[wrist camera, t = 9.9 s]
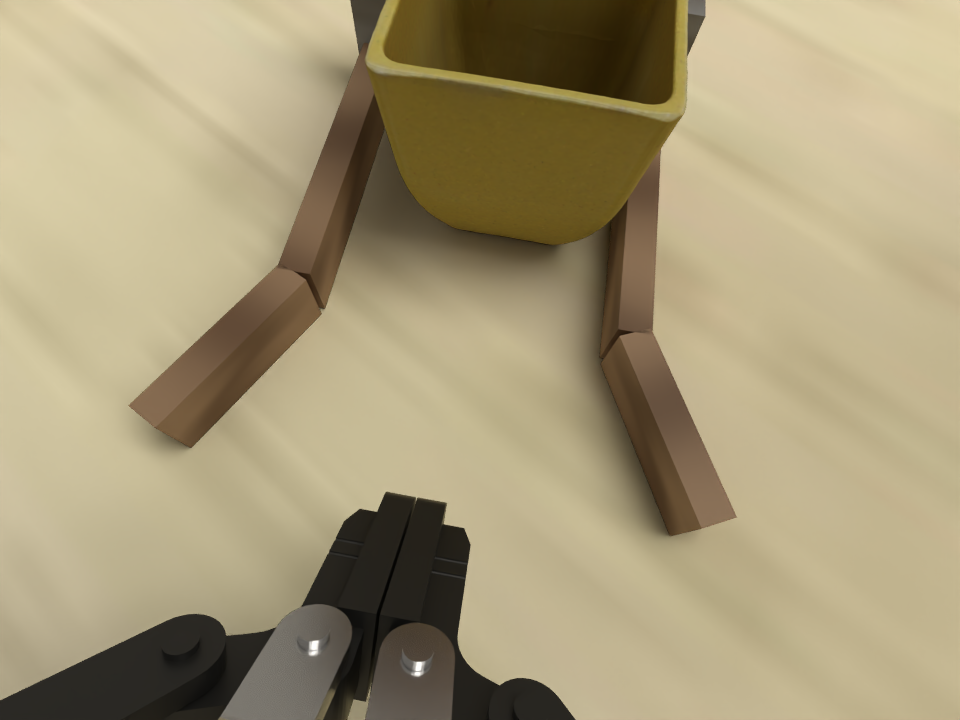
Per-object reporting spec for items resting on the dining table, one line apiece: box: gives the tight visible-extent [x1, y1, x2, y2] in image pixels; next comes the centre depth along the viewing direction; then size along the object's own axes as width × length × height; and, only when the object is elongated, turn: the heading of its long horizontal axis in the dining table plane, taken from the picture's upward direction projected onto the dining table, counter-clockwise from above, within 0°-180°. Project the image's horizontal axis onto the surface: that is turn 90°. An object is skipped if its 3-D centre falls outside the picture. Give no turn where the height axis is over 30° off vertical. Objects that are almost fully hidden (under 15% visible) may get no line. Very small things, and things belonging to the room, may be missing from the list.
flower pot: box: [365, 0, 688, 245], centre depth 20 cm, size 9×9×9 cm
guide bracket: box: [128, 0, 736, 536], centre depth 20 cm, size 20×19×6 cm
